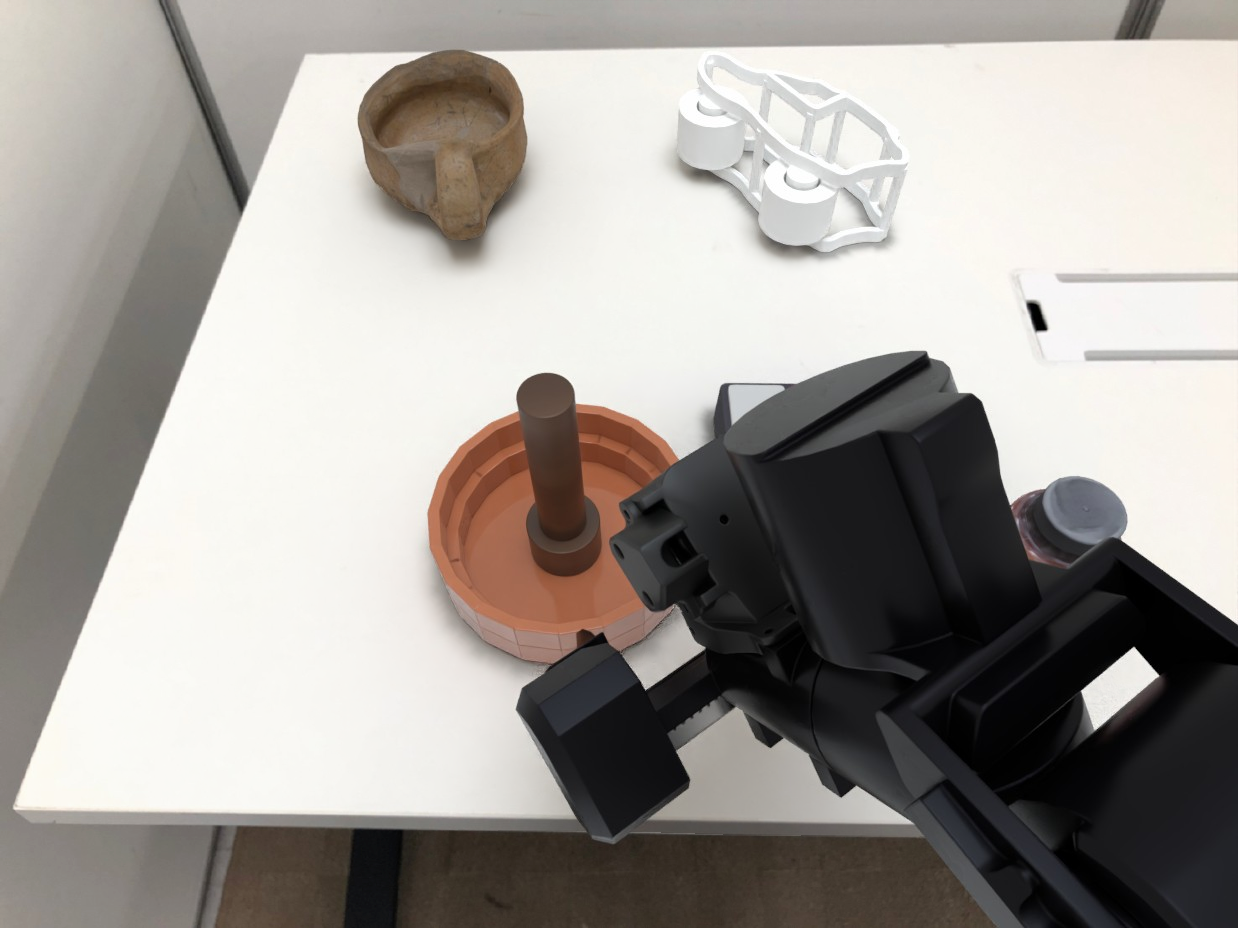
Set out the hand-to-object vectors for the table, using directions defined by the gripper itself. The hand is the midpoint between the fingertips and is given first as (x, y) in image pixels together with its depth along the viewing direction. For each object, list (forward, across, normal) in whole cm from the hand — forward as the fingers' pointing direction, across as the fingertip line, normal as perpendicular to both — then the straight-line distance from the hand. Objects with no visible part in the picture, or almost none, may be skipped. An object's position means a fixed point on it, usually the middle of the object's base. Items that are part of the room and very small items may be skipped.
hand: (664, 586), depth 41 cm
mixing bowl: (+14, 0, +1) cm, 14 cm away
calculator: (+10, -17, +5) cm, 20 cm away
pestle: (+14, 0, 0) cm, 14 cm away
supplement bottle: (+1, -19, +14) cm, 24 cm away
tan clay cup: (+38, -11, -23) cm, 46 cm away
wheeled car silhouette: (+28, -33, -12) cm, 45 cm away
